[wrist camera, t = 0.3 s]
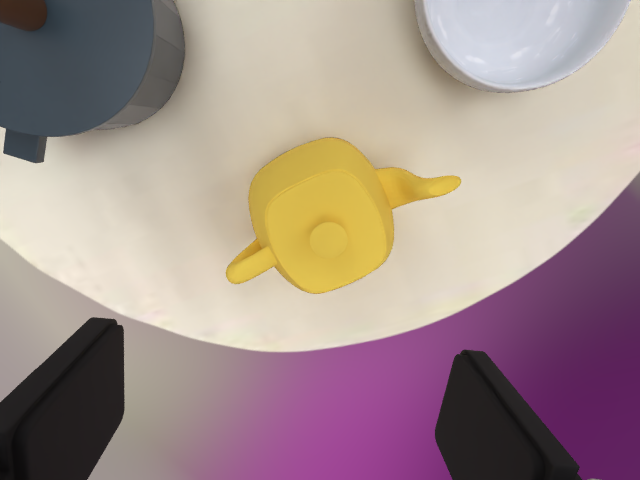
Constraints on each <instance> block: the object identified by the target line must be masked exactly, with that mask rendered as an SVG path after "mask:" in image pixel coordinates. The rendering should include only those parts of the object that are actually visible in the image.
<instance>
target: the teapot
mask: <svg viewBox="0 0 640 480" xmlns="http://www.w3.org/2000/svg"><path fill="white" fill-rule="evenodd" d="M460 184H461V179H460V178H459V177H457V176H442V177H436V178H421V177H418V176H416V175H414V174H412V173H410V172H409V171H407V170H404V169H401V168H394V167H392V168H381V169H375V168H374V167H373V166H372V164H371V163H370V162H369V161H368V160H367V158H366V157H365V156H364V155H363V154H362V153H361V152H360V151H359V150H358V149H357V148H356V147H355V146H353V145H352V144H350V143H349V142H347V141H345V140H342V139H338V138H323V139H319V140H315V141H312V142H309V143H306V144H303V145H300V146H298V147H296V148H294V149H291V150H289V151H287V152H286V153H284V154H282V155H280V156H279V157H277V158H276V159H274V160H273V161H271V162H270V163H268V164H267V165H266V166H264V167H263V168H262V169H260V171H259V172H258V173H257V174H256V175H255V177H254V179H253V181H252V183H251V186H250V189H249V197H248V200H249V210H250V216H251V221H252V224H253V228H254V231H255V234H256V237H257V239H256V240H255V241H254V242H253V243H251V244H250V245H249V246H248V247H247V248H246V249H245V250H243V251H242V252H241V253H240V254H239V255H238V256H237V257H236V258H235V259H234V260H233V261H232V262H231V263H230V265H229V266H228V267H227V269H226V277H227V279H228V280H229V282H231V283H233V284H240V283H244V282H246V281H248V280H250V279H252V278H254V277H256V276H258V275H260V274H261V273H263V272H265V271H267V270H268V269H270V268H272V267H273V266H274V267H275V268H276V269H277V270H278V271H279V273H280V274H281V275H282V276H283V277H284V278H285V279H286V280H287V281H289V282H290V283H291V284H292V285H294V286H295V287H297V288H299V289H300V290H302V291H305V292H308V293H313V294H320V293H325V292H328V291H331V290H335V289H338V288H341V287H343V286H345V285H348V284H350V283H352V282H354V281H356V280H358V279H361V278H362V277H364V276H366V275H367V274H369V273H371V272H372V271H374V270H375V269H377V268H379V267H380V266H381V265H382V264H383V263H384V262H385V261H386V259H387V258H388V256H389V254H390V252H391V249H392V246H393V241H394V224H393V215H392V209H394V208H396V207H399V206H402V205H405V204H407V203H410V202H414V201H418V200H423V199H428V198H434V197H439V196H442V195H445V194H448V193H450V192H452V191H453V190H455V189H456V188H458V186H459V185H460Z"/></svg>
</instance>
